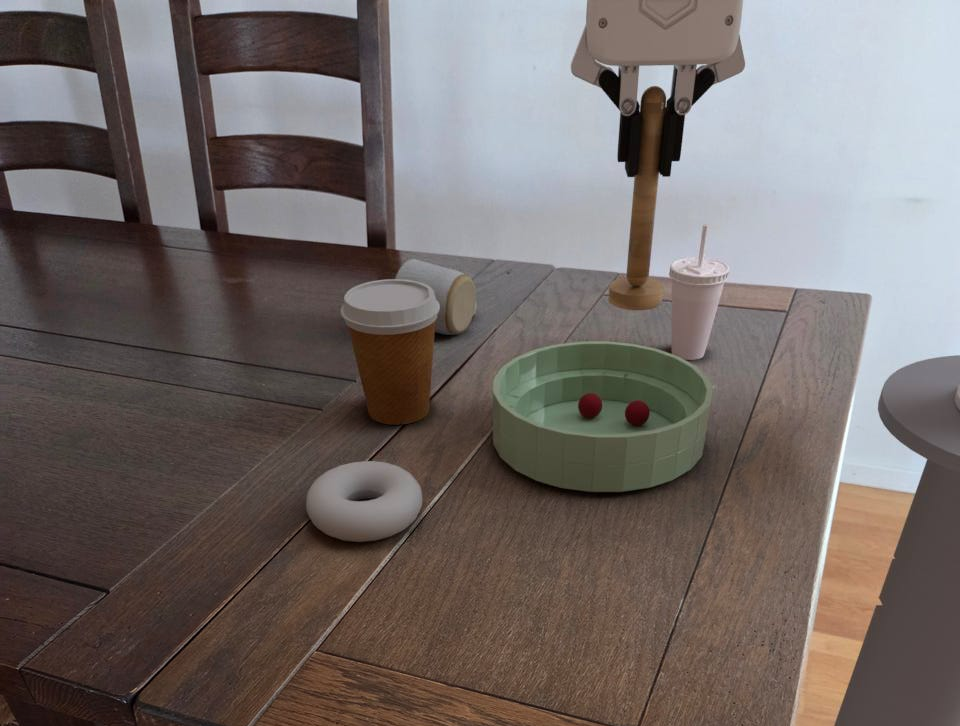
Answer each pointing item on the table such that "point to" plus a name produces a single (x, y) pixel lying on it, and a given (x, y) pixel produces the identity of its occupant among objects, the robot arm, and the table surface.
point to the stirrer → (643, 212)
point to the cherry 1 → (590, 405)
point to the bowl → (600, 416)
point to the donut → (364, 520)
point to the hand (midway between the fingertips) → (647, 170)
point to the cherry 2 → (637, 413)
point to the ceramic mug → (445, 293)
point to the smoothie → (695, 300)
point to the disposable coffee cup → (393, 346)
